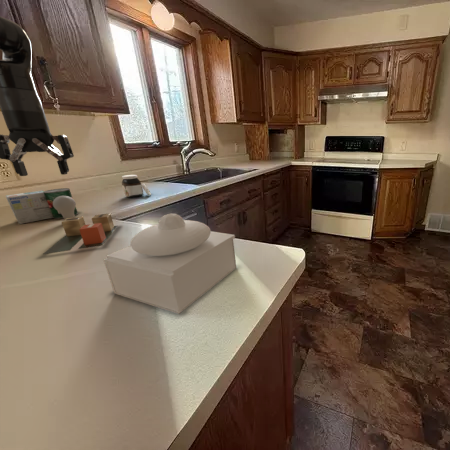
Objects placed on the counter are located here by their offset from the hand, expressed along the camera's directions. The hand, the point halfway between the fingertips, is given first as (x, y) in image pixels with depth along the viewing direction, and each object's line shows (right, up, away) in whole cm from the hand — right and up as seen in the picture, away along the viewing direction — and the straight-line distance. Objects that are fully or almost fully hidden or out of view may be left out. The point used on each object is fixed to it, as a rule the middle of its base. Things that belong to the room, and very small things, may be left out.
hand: (44, 175), depth 67 cm
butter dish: (+44, -26, -12) cm, 53 cm away
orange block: (+8, -19, +7) cm, 22 cm away
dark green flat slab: (+3, -19, +10) cm, 22 cm away
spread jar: (-19, +2, +69) cm, 71 cm away
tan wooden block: (+4, -15, +16) cm, 23 cm away
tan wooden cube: (-3, -17, +13) cm, 21 cm away
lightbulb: (-17, -14, +26) cm, 34 cm away
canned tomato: (-28, -10, +36) cm, 47 cm away
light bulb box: (-36, -12, +32) cm, 50 cm away
